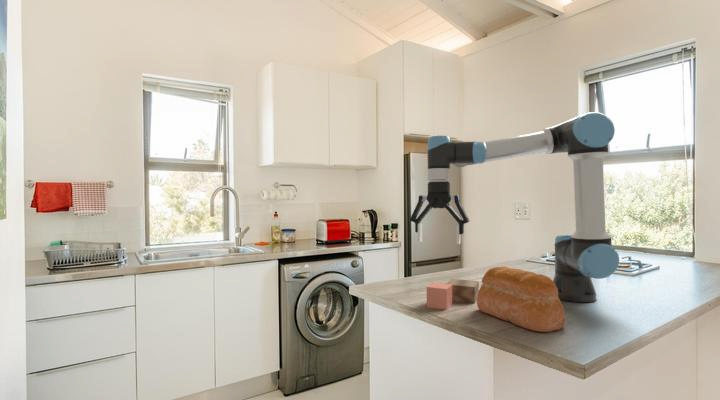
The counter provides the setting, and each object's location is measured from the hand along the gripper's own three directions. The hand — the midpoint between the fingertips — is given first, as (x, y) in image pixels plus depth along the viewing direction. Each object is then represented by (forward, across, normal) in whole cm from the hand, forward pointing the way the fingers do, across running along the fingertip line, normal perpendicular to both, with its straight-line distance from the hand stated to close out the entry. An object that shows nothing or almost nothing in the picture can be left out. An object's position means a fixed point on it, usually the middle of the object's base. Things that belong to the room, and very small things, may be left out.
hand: (438, 242), depth 135 cm
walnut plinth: (+22, -5, -13) cm, 26 cm away
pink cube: (+22, 0, 0) cm, 22 cm away
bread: (+22, -26, +3) cm, 34 cm away
